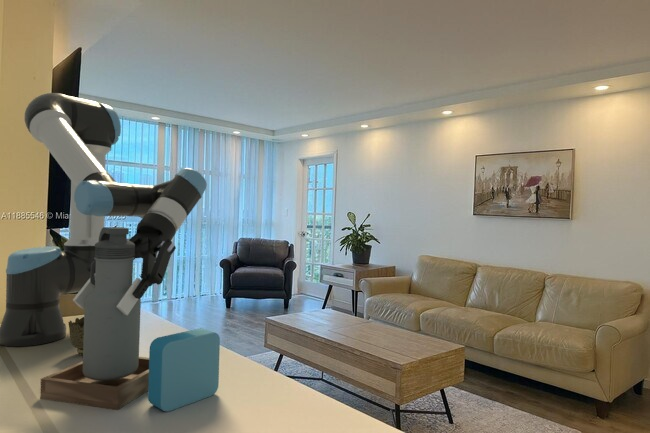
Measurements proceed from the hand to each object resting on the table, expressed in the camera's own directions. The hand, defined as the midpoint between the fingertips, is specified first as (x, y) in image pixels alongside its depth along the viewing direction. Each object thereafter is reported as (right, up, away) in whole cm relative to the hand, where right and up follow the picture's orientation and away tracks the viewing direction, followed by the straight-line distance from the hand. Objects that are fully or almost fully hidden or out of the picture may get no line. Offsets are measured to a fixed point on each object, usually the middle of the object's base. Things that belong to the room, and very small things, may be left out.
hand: (99, 307), depth 83 cm
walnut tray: (0, -16, +3) cm, 16 cm away
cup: (-14, -15, +22) cm, 30 cm away
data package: (+16, -17, -2) cm, 24 cm away
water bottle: (+1, -13, +3) cm, 14 cm away
